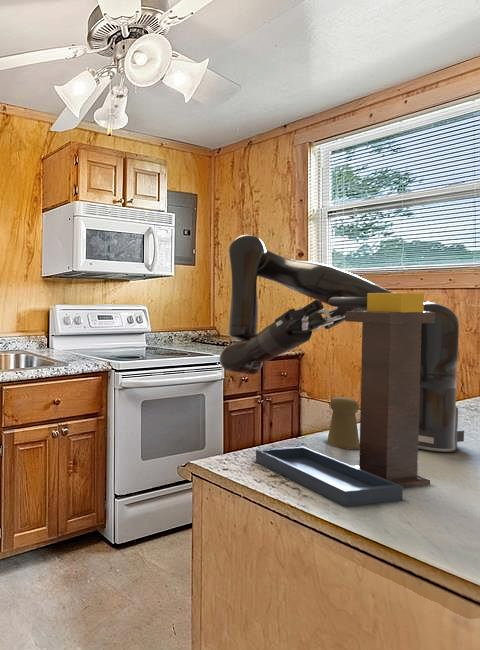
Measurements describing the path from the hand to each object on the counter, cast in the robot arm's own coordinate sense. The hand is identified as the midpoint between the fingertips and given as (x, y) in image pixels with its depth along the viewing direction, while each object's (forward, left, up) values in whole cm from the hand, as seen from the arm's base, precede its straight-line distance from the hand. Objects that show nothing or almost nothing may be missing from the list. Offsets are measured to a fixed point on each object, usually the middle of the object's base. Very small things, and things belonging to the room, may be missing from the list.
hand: (338, 303), depth 90 cm
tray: (+12, +8, -33) cm, 36 cm away
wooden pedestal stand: (0, +10, -33) cm, 35 cm away
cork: (-10, -7, -34) cm, 36 cm away
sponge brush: (0, +6, -1) cm, 6 cm away
